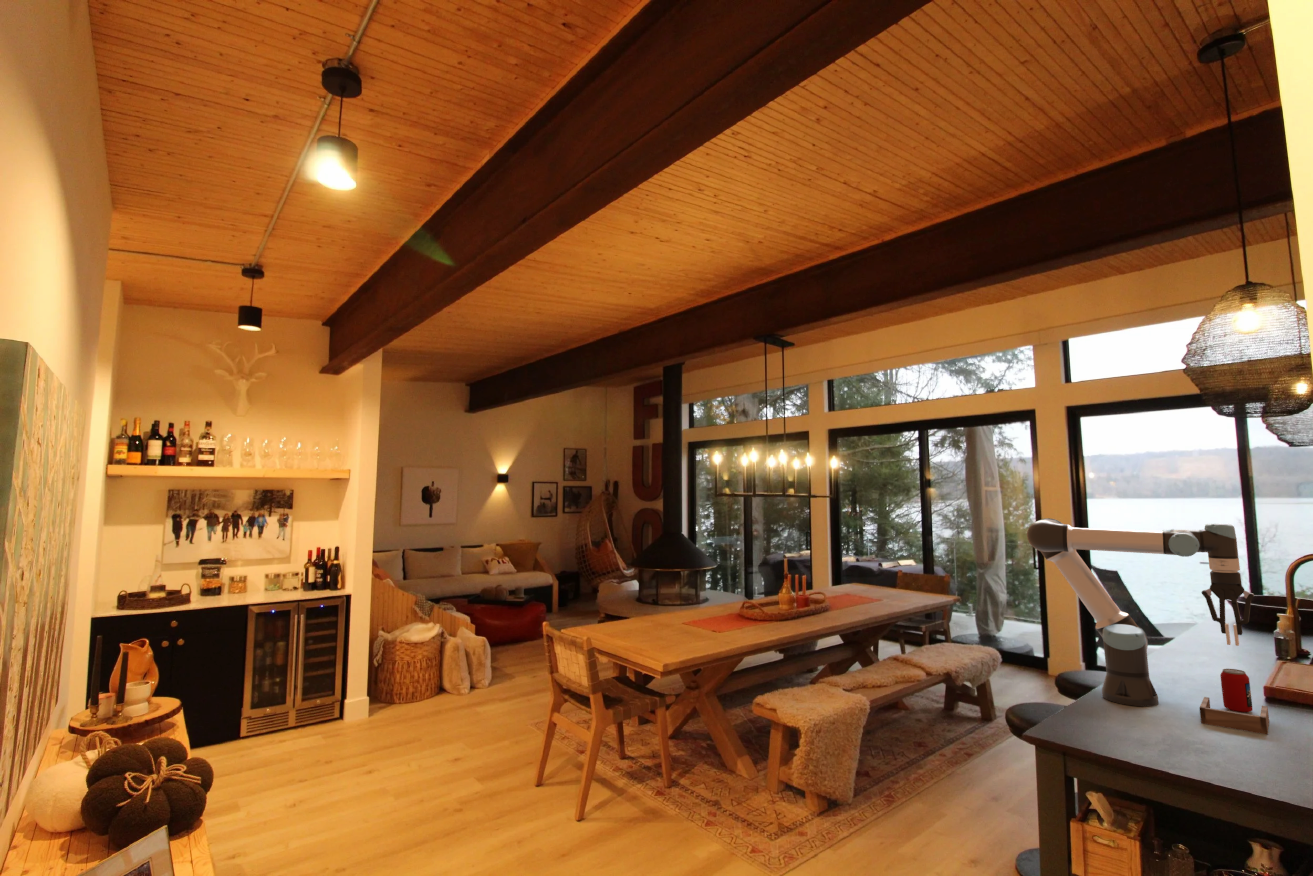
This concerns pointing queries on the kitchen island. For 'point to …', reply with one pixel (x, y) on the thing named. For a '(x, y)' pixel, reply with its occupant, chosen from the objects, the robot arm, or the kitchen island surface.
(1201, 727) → the kitchen island surface
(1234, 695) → the beverage can
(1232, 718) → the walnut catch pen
